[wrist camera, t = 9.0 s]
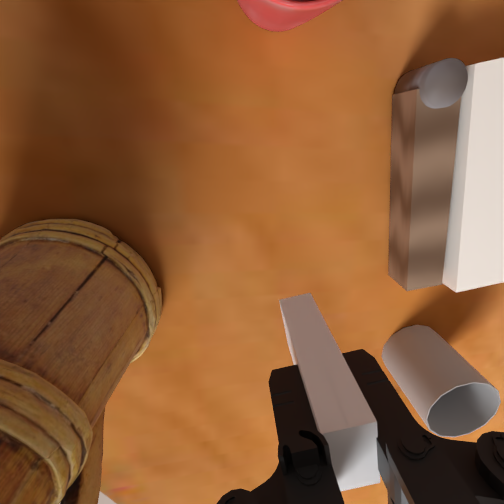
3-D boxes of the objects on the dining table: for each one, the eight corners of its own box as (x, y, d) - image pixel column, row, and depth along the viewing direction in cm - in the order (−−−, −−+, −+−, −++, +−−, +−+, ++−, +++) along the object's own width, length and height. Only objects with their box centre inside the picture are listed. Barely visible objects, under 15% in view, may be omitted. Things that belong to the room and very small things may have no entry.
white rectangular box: (434, 74, 28) (475, 63, 24) (535, 53, 28) (594, 37, 24) (427, 272, 37) (456, 292, 32) (504, 255, 37) (544, 273, 32)
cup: (449, 329, 41) (514, 386, 32) (424, 374, 44) (477, 439, 34) (394, 321, 39) (446, 379, 30) (373, 368, 42) (414, 434, 33)
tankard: (97, 186, 30) (-339, 366, 7) (208, 348, 39) (181, 667, 16) (-46, 260, 31) (-790, 609, 8) (91, 400, 40) (-90, 757, 17)
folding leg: (392, 73, 28) (424, 62, 23) (433, 66, 28) (472, 54, 24) (388, 274, 36) (411, 294, 32) (419, 269, 36) (446, 287, 32)
